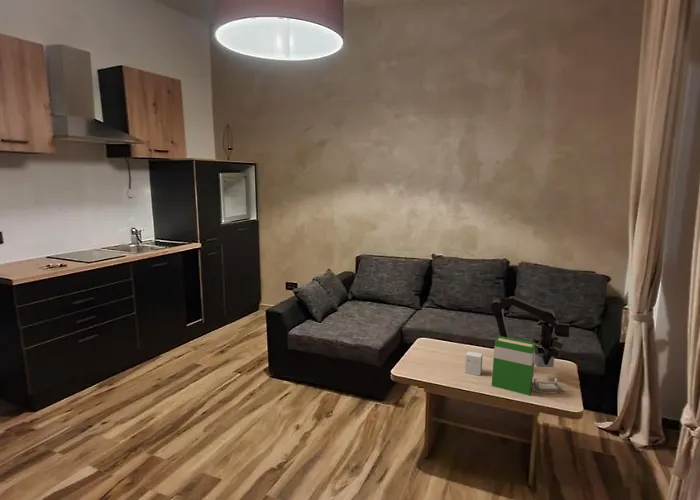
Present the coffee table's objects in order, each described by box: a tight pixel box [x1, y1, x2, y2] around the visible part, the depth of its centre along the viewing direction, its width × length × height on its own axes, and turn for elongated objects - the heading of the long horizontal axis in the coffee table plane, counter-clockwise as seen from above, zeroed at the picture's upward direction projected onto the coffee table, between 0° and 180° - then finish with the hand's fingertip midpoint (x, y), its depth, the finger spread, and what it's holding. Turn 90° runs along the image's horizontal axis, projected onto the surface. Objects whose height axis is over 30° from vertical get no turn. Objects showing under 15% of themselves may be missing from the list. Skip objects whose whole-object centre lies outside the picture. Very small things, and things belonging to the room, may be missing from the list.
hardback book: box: [491, 335, 537, 396], centre depth 215 cm, size 18×7×24 cm, turn 58°
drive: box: [534, 352, 555, 368], centre depth 225 cm, size 8×4×6 cm, turn 91°
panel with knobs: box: [532, 377, 566, 393], centre depth 216 cm, size 13×9×4 cm
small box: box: [464, 351, 483, 377], centre depth 232 cm, size 8×6×10 cm
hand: (543, 363), depth 225 cm, fingers closed on drive, 4 cm apart
